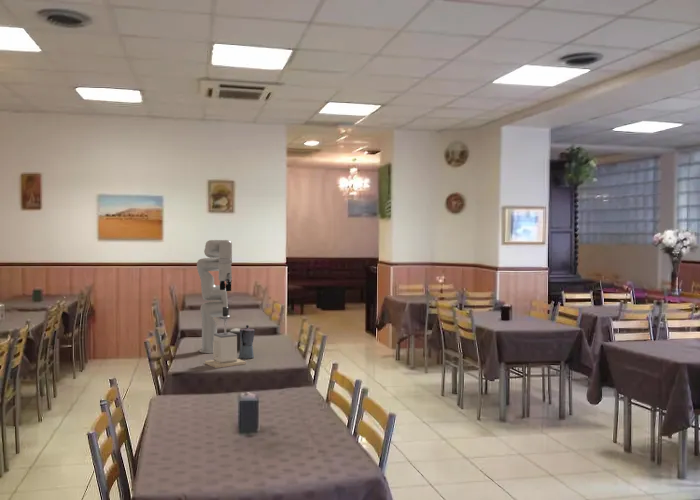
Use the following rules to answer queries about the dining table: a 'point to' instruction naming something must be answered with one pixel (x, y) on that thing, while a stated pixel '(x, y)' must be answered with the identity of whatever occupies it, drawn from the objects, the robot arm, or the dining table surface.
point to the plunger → (225, 315)
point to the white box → (225, 351)
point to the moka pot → (246, 343)
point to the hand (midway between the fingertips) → (225, 290)
